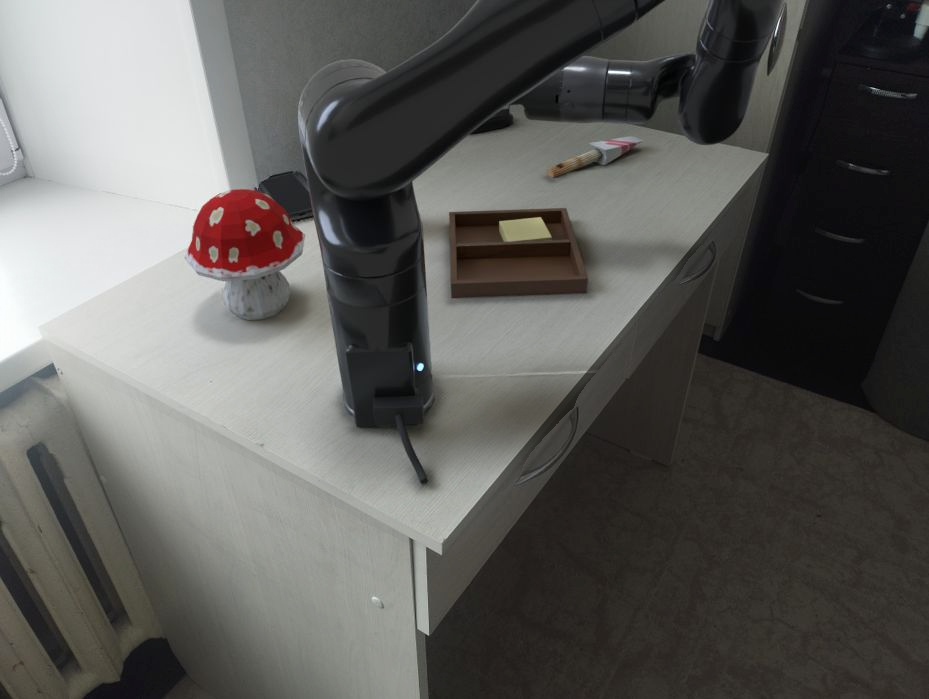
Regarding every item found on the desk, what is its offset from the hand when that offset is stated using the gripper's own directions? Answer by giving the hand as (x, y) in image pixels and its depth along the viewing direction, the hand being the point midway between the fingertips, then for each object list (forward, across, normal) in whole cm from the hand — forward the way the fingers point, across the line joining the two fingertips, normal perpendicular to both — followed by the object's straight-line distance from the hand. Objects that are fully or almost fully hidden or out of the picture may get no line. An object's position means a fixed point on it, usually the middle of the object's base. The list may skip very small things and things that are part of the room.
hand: (435, 81), depth 92 cm
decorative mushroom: (+18, +21, +22) cm, 35 cm away
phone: (+26, -8, +22) cm, 35 cm away
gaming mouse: (+5, -42, +22) cm, 48 cm away
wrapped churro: (-18, -30, +22) cm, 41 cm away
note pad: (-12, -1, +21) cm, 24 cm away
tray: (-11, +4, +22) cm, 24 cm away
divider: (-11, +4, +22) cm, 24 cm away
